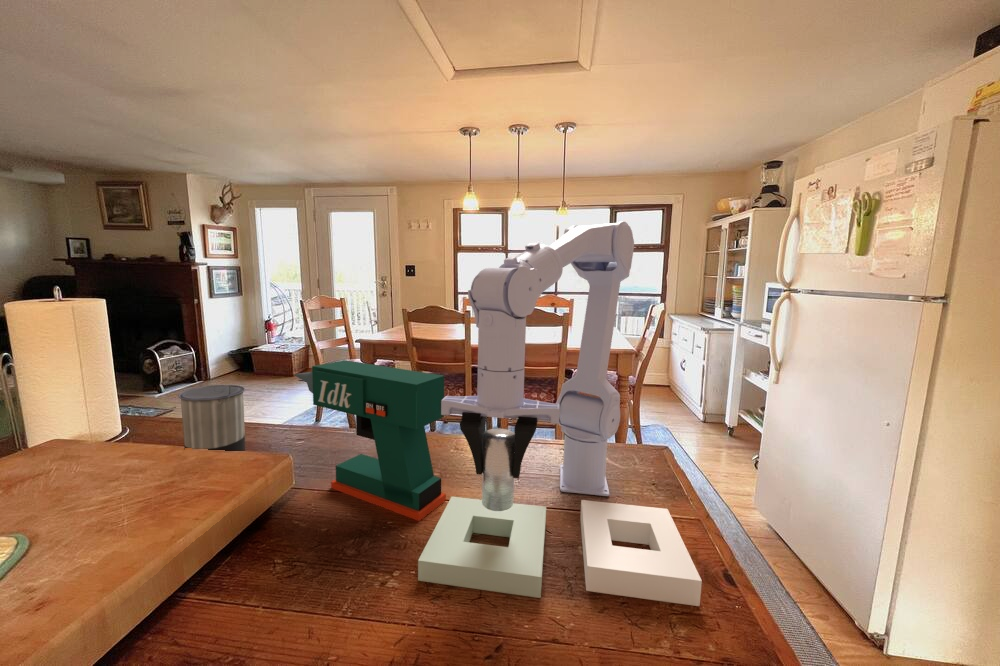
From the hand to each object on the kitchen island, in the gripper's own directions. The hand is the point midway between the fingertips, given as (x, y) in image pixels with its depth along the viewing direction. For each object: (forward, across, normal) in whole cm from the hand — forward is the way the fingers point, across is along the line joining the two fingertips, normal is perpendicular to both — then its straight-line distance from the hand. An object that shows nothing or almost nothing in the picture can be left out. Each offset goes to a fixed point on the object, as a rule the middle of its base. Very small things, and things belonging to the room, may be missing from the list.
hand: (498, 472), depth 50 cm
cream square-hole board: (+10, +17, +2) cm, 20 cm away
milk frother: (+11, -54, +7) cm, 56 cm away
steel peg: (+4, 0, 0) cm, 4 cm away
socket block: (+10, -1, 0) cm, 10 cm away
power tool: (+11, -26, +12) cm, 30 cm away
